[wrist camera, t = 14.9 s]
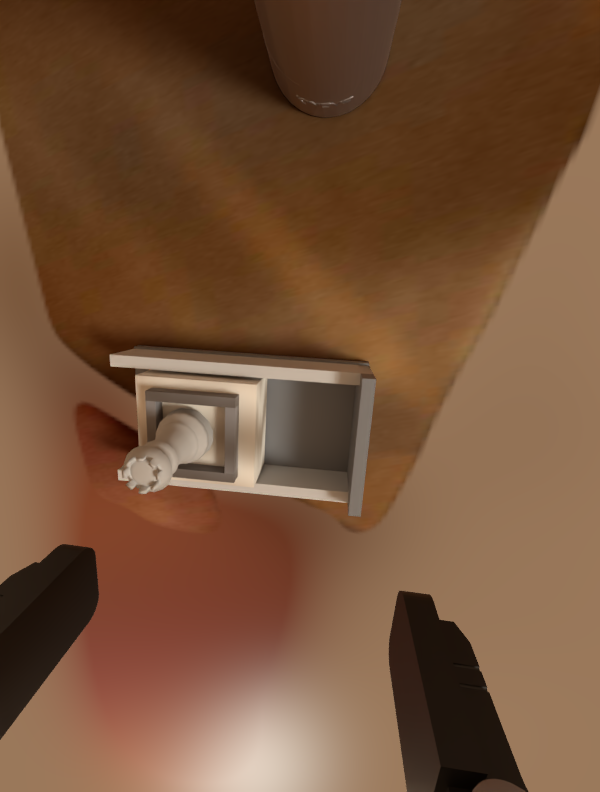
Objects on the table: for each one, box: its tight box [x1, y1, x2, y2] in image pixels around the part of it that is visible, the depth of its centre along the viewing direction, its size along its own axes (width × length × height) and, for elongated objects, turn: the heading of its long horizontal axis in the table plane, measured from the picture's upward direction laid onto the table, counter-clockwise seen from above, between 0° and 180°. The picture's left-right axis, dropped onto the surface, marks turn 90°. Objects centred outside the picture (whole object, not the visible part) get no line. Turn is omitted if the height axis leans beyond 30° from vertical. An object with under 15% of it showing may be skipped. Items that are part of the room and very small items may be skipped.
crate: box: [135, 369, 267, 488], centre depth 33 cm, size 9×10×6 cm
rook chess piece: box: [122, 408, 213, 494], centre depth 27 cm, size 4×4×8 cm
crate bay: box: [110, 345, 376, 517], centre depth 33 cm, size 12×22×7 cm, turn 87°
